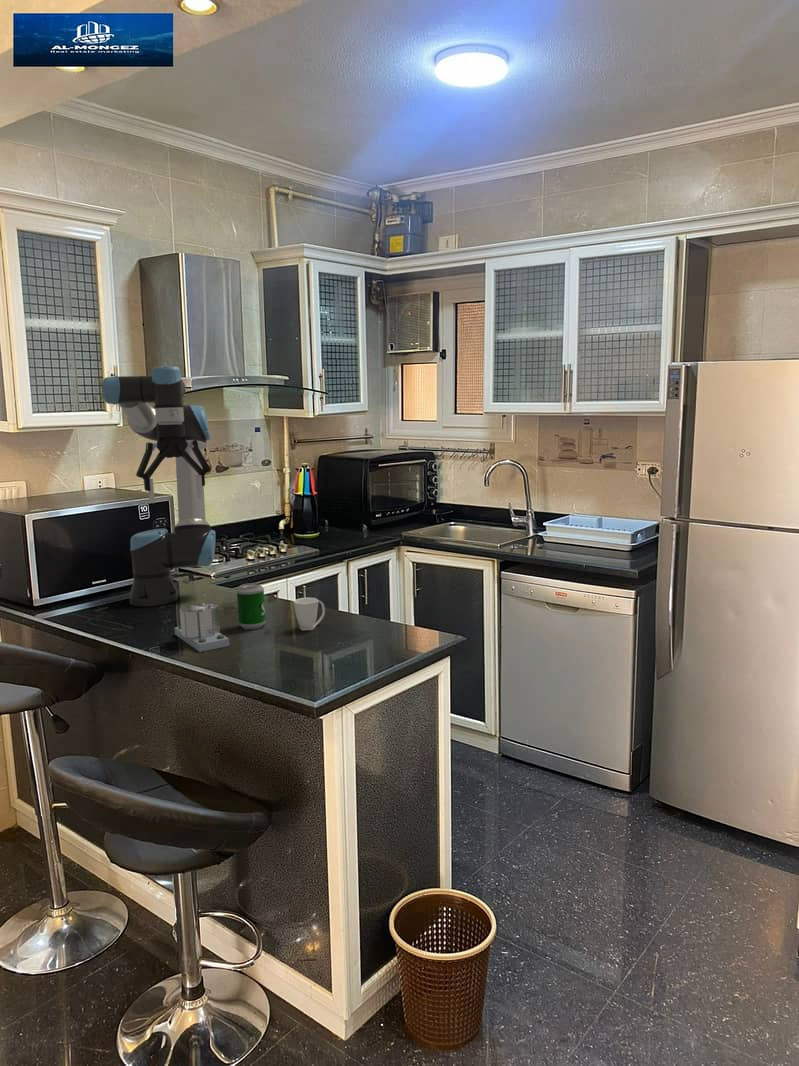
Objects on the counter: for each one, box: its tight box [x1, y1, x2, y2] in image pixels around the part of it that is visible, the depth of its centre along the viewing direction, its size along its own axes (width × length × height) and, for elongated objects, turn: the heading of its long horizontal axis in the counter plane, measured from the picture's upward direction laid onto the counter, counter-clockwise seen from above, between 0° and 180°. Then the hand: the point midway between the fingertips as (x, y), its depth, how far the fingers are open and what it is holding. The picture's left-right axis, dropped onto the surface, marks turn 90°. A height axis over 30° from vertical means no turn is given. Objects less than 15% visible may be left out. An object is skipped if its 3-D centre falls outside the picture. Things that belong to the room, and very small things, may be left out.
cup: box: [292, 597, 326, 631], centre depth 221 cm, size 7×10×8 cm
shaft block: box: [174, 606, 230, 653], centre depth 212 cm, size 20×8×9 cm, turn 34°
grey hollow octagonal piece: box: [179, 602, 221, 638], centre depth 212 cm, size 10×10×7 cm
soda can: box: [236, 582, 267, 630], centre depth 223 cm, size 8×8×12 cm
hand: (176, 500), depth 220 cm, fingers open, 13 cm apart
